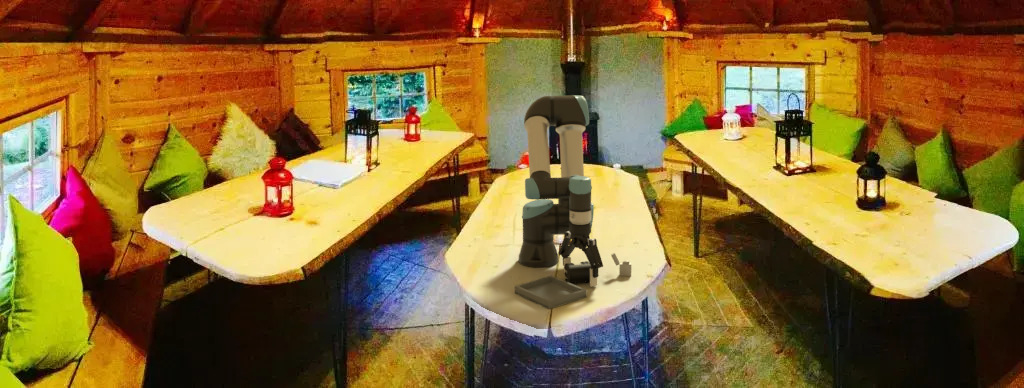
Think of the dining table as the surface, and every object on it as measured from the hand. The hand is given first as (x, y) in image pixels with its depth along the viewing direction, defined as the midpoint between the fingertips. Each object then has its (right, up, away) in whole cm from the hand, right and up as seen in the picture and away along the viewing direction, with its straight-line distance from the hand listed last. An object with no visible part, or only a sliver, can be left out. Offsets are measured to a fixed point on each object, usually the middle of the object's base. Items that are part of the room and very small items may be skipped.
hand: (580, 280), depth 247 cm
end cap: (0, -1, 0) cm, 1 cm away
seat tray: (-11, -3, -11) cm, 16 cm away
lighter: (+15, +1, +6) cm, 17 cm away
